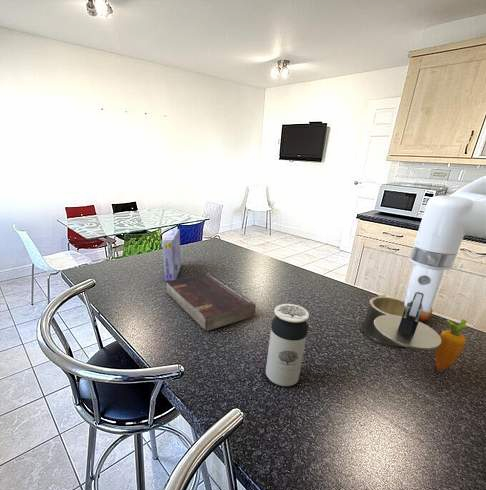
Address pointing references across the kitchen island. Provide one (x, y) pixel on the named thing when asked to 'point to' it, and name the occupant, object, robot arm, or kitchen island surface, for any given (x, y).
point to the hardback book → (210, 300)
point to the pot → (379, 308)
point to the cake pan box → (171, 254)
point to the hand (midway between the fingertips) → (406, 329)
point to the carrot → (450, 345)
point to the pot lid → (420, 340)
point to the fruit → (424, 316)
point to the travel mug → (287, 344)
